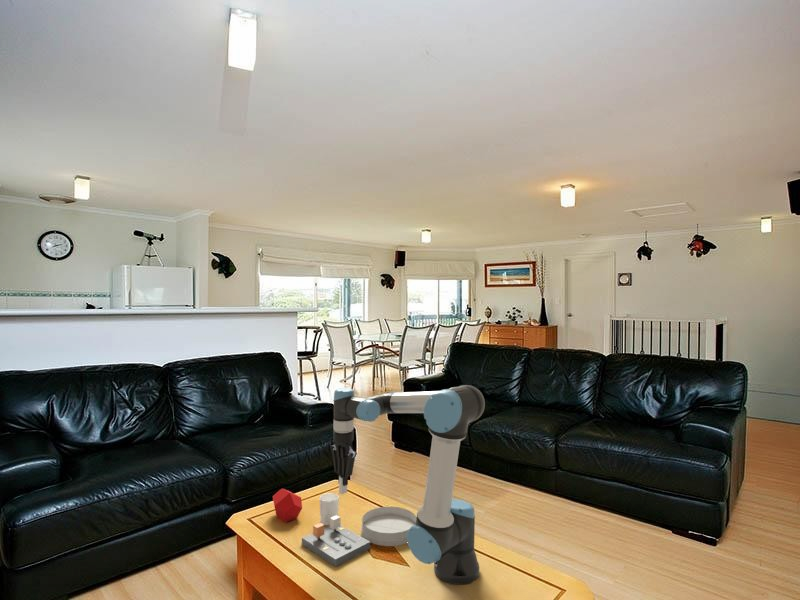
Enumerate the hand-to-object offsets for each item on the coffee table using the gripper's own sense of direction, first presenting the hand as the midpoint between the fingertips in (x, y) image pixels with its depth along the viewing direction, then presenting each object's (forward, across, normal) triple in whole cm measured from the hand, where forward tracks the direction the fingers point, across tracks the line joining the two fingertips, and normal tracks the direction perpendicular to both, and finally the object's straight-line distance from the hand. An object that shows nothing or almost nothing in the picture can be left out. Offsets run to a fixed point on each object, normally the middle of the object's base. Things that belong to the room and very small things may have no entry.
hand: (342, 493), depth 174 cm
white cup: (+19, +16, -6) cm, 26 cm away
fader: (+16, +4, +8) cm, 18 cm away
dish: (+19, -6, -18) cm, 27 cm away
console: (+19, -1, +4) cm, 19 cm away
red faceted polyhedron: (+19, +32, +4) cm, 38 cm away
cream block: (+16, +5, 0) cm, 17 cm away
